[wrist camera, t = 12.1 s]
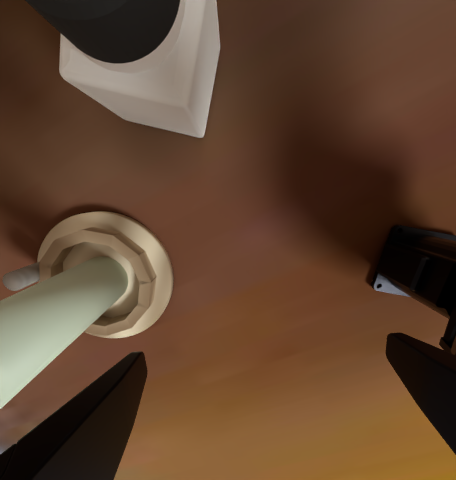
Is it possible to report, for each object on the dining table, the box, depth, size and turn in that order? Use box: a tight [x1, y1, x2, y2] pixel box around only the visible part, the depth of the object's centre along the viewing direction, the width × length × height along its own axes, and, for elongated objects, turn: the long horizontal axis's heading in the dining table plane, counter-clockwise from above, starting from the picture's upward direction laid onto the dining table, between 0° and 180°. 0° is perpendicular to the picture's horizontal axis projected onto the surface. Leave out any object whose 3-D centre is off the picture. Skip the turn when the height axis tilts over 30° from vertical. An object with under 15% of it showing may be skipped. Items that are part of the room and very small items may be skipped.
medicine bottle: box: [25, 0, 220, 138], centre depth 12 cm, size 7×7×12 cm
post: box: [0, 256, 128, 409], centre depth 15 cm, size 5×5×11 cm
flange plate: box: [3, 211, 174, 338], centre depth 19 cm, size 13×13×4 cm
